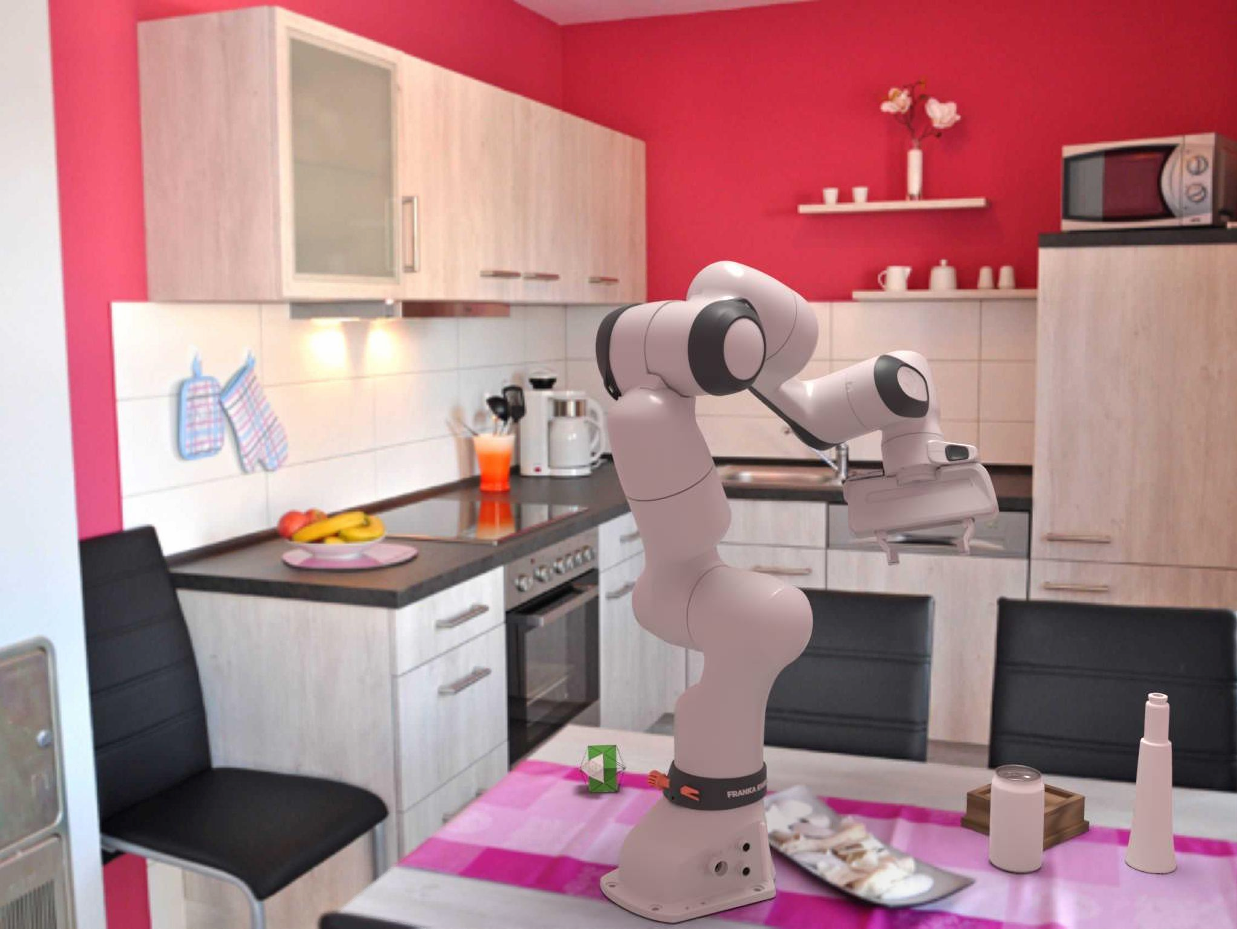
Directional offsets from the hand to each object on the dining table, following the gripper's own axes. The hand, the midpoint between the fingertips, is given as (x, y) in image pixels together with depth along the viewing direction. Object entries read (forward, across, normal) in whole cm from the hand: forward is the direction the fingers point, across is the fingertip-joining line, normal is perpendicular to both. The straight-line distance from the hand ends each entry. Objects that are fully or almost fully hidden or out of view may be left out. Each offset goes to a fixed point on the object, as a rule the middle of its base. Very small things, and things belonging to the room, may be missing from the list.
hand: (928, 559), depth 178 cm
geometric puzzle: (+25, -52, +11) cm, 59 cm away
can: (+40, +5, +5) cm, 41 cm away
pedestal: (+35, +7, +16) cm, 39 cm away
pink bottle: (+41, +21, +10) cm, 47 cm away
